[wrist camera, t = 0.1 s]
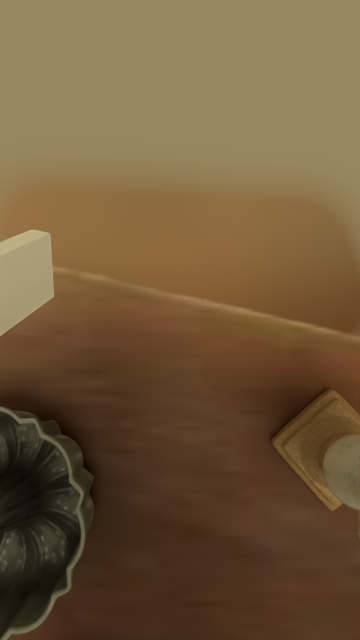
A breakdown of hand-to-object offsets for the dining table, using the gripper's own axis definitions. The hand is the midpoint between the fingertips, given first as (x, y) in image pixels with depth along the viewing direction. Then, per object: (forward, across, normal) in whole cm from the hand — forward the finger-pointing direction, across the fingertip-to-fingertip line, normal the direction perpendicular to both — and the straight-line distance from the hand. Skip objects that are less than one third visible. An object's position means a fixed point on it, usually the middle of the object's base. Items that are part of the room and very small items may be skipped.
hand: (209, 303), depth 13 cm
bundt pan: (+13, +22, +43) cm, 50 cm away
